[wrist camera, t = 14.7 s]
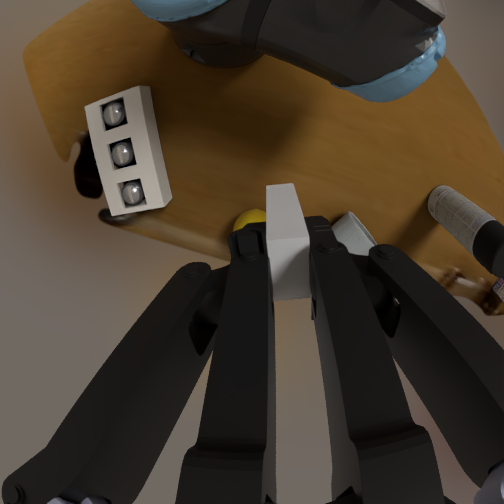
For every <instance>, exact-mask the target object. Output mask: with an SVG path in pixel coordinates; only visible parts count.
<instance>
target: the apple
mask: <svg viewBox="0 0 504 504" xmlns="http://www.w3.org/2000/svg"><path fill="white" fill-rule="evenodd" d="M264 221H266V212H264V211H262V210H260V209H252V210H248V211H245V212H244V213H242V214H241V215H240V216H239V217H238V218H237V220H236V221H235V223H234V227H233V232H234V231H236V230H238V229H242V228H243V227H244V226H245V225H246V224H247V223H254V222H264Z"/></svg>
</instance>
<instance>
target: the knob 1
mask: <svg viewBox="0 0 504 504" xmlns="http://www.w3.org/2000/svg"><path fill="white" fill-rule="evenodd" d="M103 119H104V121H105V123H106V124H108V125H110V126H114V125H119V124H123V123H127V122H128V121H127V116H126V110H125V105H124V102H116V103H110V104H109V105H107V106H106V108H105V109H104V112H103Z"/></svg>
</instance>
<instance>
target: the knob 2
mask: <svg viewBox="0 0 504 504" xmlns="http://www.w3.org/2000/svg"><path fill="white" fill-rule="evenodd" d="M144 197H145V195H144V191H143V187H142V183H141V179H140V178H138V179H134V180H132V181H130V182H129V183H127V184H126V185H125V186H124V187H123V188H122V198H123V199H124V201H125V202H126V203H128V204H130V205H136V204H138V203H139V202H140V201H141V200H142V199H143V198H144Z"/></svg>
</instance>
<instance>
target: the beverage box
mask: <svg viewBox="0 0 504 504" xmlns="http://www.w3.org/2000/svg"><path fill="white" fill-rule="evenodd" d="M492 289H493V290H494V291H495V293H496V294H497V295H498V296H499V298H500V299H501V300H502V301H503V303H504V277H503V278H500V277H499V279H498V280H497V282H496V283H495V285H494V286H493V287H492Z"/></svg>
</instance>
